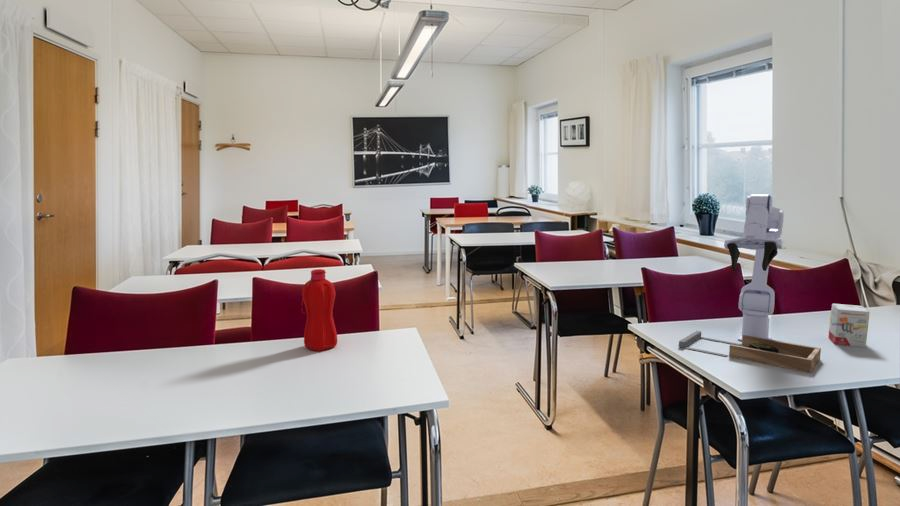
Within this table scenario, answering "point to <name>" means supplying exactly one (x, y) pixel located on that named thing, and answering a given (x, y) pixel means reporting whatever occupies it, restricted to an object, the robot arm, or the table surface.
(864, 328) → the ink box
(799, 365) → the open frame
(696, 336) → the bay
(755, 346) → the tape measure
